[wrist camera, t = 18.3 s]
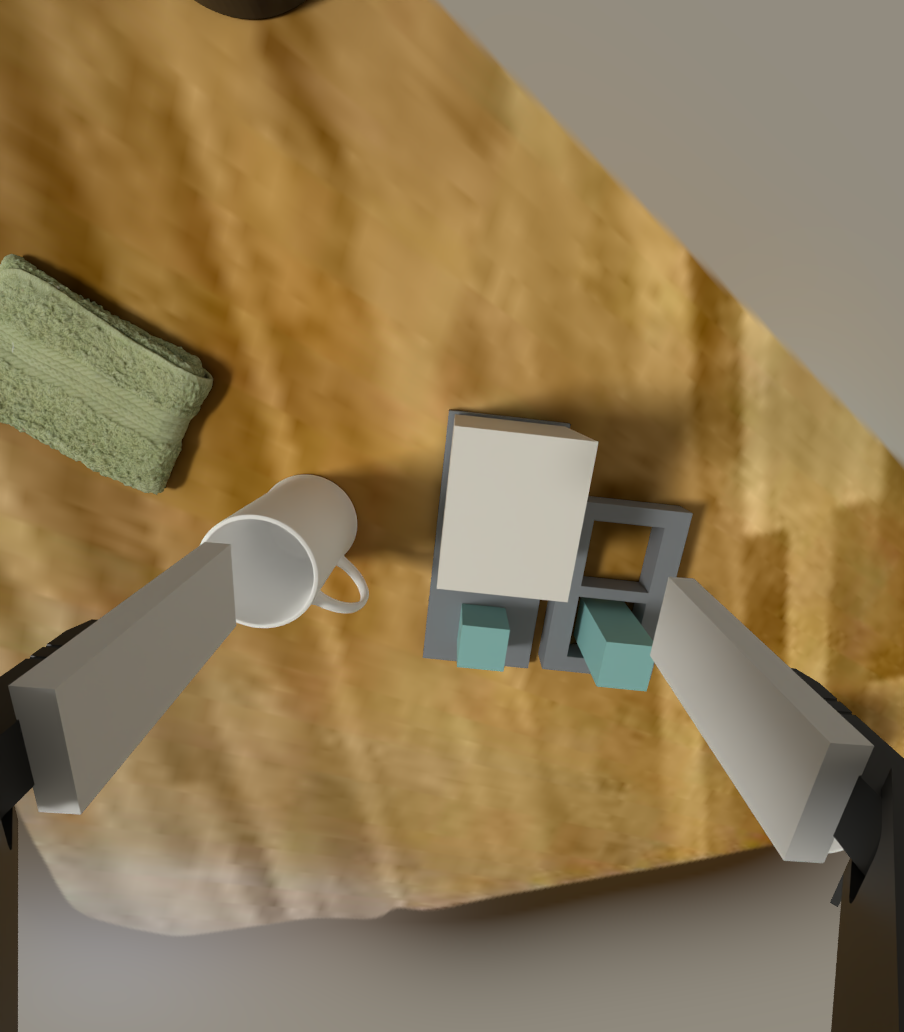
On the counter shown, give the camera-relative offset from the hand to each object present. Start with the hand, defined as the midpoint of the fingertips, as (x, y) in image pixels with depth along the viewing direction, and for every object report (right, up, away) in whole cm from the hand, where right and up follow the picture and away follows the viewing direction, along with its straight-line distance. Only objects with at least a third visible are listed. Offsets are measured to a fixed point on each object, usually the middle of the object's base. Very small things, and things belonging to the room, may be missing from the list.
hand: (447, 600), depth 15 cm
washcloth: (-29, +14, +26) cm, 42 cm away
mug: (-11, +1, +29) cm, 31 cm away
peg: (+14, -7, +31) cm, 35 cm away
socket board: (+14, -4, +30) cm, 33 cm away
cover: (+4, +5, +26) cm, 27 cm away
